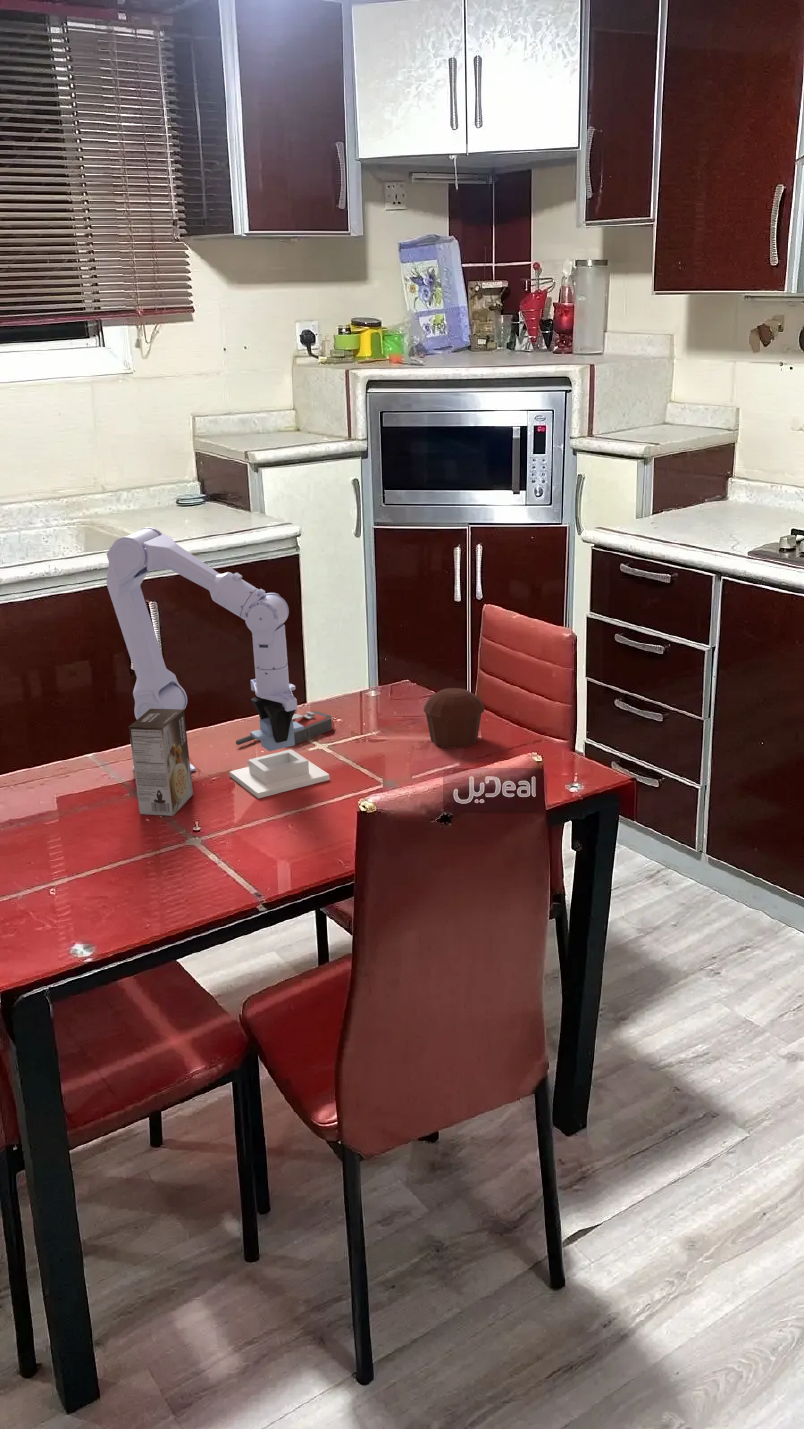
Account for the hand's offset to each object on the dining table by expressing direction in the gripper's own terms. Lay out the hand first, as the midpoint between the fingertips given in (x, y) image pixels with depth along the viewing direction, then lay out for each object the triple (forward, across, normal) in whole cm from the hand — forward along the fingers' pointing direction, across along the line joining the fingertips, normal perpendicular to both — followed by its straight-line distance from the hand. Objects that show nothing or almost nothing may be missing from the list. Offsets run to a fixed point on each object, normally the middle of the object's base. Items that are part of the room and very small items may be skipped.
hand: (276, 738), depth 206 cm
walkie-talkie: (+8, +18, -10) cm, 22 cm away
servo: (+2, 0, 0) cm, 2 cm away
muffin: (+8, -3, -36) cm, 37 cm away
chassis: (+8, 0, 0) cm, 8 cm away
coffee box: (+8, +1, +21) cm, 22 cm away
